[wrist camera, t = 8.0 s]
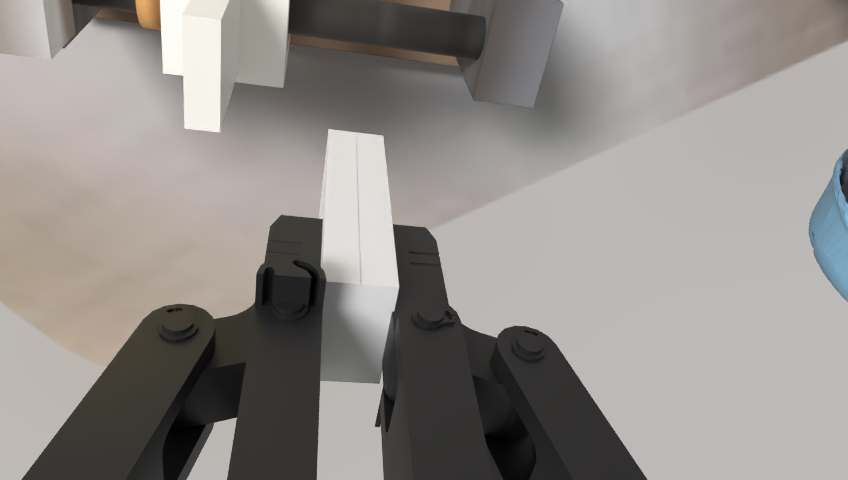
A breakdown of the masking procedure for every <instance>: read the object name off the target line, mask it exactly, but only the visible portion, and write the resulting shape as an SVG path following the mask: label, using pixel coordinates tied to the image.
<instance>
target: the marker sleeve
mask: <svg viewBox="0 0 848 480" xmlns="http://www.w3.org/2000/svg"><path fill="white" fill-rule="evenodd" d="M289 7H290V0H160V14H161V38H162V61H163V73H165V74H173V75H181V76H183V85H184V125H185V129H194V130H203V131H212V132H220V131H221V128H222V124H223V121H224V118H225V114H226V111H227V108H228V104H229V101H230V98H231V94H232V91H233V87H234V84H235V82H238V83H246V84H254V85H262V86H270V87H278V88H283V87H284V80H285V73H286V67H287V60H288V53H289V45H290V34H288V23H289Z"/></svg>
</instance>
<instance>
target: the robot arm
mask: <svg viewBox="0 0 848 480" xmlns="http://www.w3.org/2000/svg"><path fill="white" fill-rule="evenodd" d="M809 236H810V241H811V244H812V246H813V248H814V256H815V258H816V260H817V262H818V264H819V266H820V268H821V269H822V271H823V273H824V274H825V275H826V277H827V278H828V280H829V281H830V282H831V284H832V285H833V286H834V287H835V289H836V290H837V291H838V292H839V293H840V294H841V296H842V297H843V298H844V299H845V300H846V301H847V302H848V149H847V150H846V151H845V152H844V153H843V154H842V156H841V157H840V158H839V160H838V161H837V162H836V165H835V167H834V172H833V177H832V178H831V180H830V182H829V184H828V186H827V188H826V189H825V191H824V193H823V194H822V196H821V198H820V200H819V201H818V203H817V205H816V206H815V209H814V210H813V212H812V215H811V218H810V223H809ZM382 370H383V390H382V395H381V400H380V405H379V409H378V414H377V419H376V424H375V427H380V425H381V434H382V452H383V472H384V480H647V478H646V477H645V476H644V474H643V473H642V471H641V470H640V468H639V467H638V465H637V464H636V462H635V461H634V459H633V458H632V456H631V455H630V453H629V452H628V451H627V449H626V447H625V446H624V444H623V443H622V441H621V440H620V438H619V437H618V436H617V434H616V433H615V431H614V430H613V428H612V427H611V425H610V424H609V422H608V421H607V420H606V418H605V416H604V415H603V413H602V412H601V410H600V409H599V407H598V406H597V404H596V403H595V402H594V400H593V399H592V397H591V396H590V394H589V393H588V391H587V390H586V388H585V387H584V386H583V384H582V382H581V381H580V379H579V378H578V376H577V375H576V374H575V372H574V370H573V369H572V367H571V366H570V364H569V363H568V362H567V360H566V359H565V357H564V356H563V354H562V353H561V351H560V350H559V348H558V347H557V345H556V344H555V343H554V342H553V341H552V340H551V339H550V338H549V337H548V336H547V335H545V334H543V333H542V332H540V331H538V330H536V329H532V328H529V327H526V326H513V327H509V328H506V329H504V330H503V331H502V332H501V333H500V334H499V335H498V338H495V337H492V336H489V335H486V334H482V333H479V332H477V331H474V330H472V329H469V328H468V327H466V326H465V325H463V324H461V321H460V318H459V316H458V314H457V312H456V311H454V309H453V308H452V307H450V306H449V304H448V299H447V294H446V289H445V284H444V278H443V273H442V268H441V263H440V258H439V252H438V247H437V242H436V240H435V238H434V237H433V236H432V235H431V234H430V232H429V231H428V230H427V229H426V228H425V227H415V226H404V225H394V224H392V214H391V205H390V195H389V186H388V176H387V167H386V158H385V148H384V139H383V136H382V135H374V134H365V133H357V132H349V131H340V130H332V129H328V138H327V148H326V157H325V166H324V175H323V184H322V193H321V203H320V212H319V219H316V218H306V217H295V216H285V215H281V216H280V217H279V218H278V219H277V220H276V221H275V222H274V223H273V224H272V225H271V226H270V231H269V237H268V244H267V250H266V256H265V262H264V264H262V265H261V266H260V268H259V270H258V272H257V276H256V297H255V303H254V304H253V305H252V306H251V307H250V308H248V309H247V310H246V311H243V312H241V313H239V314H237V315H233V316H229V317H224V318H218V319H213V317H212V316H211V315H210V314H209V313H208V312H207V311H206V310H204V309H202V308H199V307H197V306H194V305H186V304H175V305H168V306H164V307H162V308H159V309H157V310H155V311H152V312H151V313H150V314H149V315H148V316H147V317H146V318H144V319H143V321H142V322H141V323H140V325H139V326H138V327H137V329H136V330H135V331H134V332H133V334H132V335H131V336H130V338H129V339H128V340H127V342H126V343H125V344H124V346H123V347H122V348H121V350H120V351H119V352H118V353H117V355H116V356H115V357H114V359H113V360H112V361H111V363H110V364H109V365H108V367H107V368H106V369H105V371H104V372H103V373H102V375H101V376H100V377H99V378H98V380H97V381H96V382H95V384H94V385H93V386H92V388H91V389H90V390H89V392H88V393H87V394H86V396H85V397H84V398H83V400H82V401H81V402H80V403H79V405H78V406H77V407H76V409H75V410H74V411H73V413H72V414H71V415H70V417H69V418H68V419H67V421H66V422H65V423H64V425H63V426H62V427H61V428H60V430H59V431H58V433H57V434H56V435H55V436H54V438H53V439H52V440H51V442H50V443H49V444H48V446H47V447H46V448H45V449H44V451H43V452H42V454H41V455H40V456H39V458H38V459H37V460H36V461H35V463H34V464H33V465H32V467H31V468H30V469H29V471H28V472H27V473H26V475H25V476H24V477H23V478H22V480H186V479H187V477H188V476H189V473H190V472H191V470H192V468H193V466H194V464H195V462H196V460H197V458H198V456H199V454H200V452H201V450H202V448H203V446H204V444H205V443H206V441H207V439H208V437H209V435H210V433H211V431H212V429H213V425H214V422H218V421H223V420H227V419H231V418H236V417H237V421H236V428H235V434H234V440H233V446H232V453H231V459H230V465H229V471H228V477H227V480H317V451H318V424H319V423H318V422H319V395H320V381H338V382H358V383H378V384H379V383H380V379H381V374H382Z"/></svg>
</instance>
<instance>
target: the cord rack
mask: <svg viewBox="0 0 848 480" xmlns="http://www.w3.org/2000/svg"><path fill="white" fill-rule="evenodd" d="M563 5H564V4H563V3H562V2H561V1H560V0H290V7H289V23H288V34H290V44H296V45H304V46H311V47H318V48H326V49H333V50H340V51H348V52H355V53H362V54H369V55H377V56H384V57H391V58H399V59H406V60H413V61H421V62H428V63H435V64H443V65H450V66H457V67H460V69H461V72H462V74H463V76H464V79H465V81H466V83H467V86H468V88H469V90H470V93H471V95H472V97H473V100H475V101H483V102H491V103H499V104H506V105H514V106H522V107H530V108H533V107H534V104H535V100H536V97H537V93H538V90H539V87H540V83H541V80H542V76H543V73H544V70H545V66H546V63H547V59H548V56H549V52H550V49H551V46H552V42H553V39H554V35H555V32H556V29H557V25H558V22H559V18H560V15H561V12H562V8H563ZM93 17H99V18H106V19H113V20H121V21H128V22H135V23H140V25H141V27H142V28H147V29H154V30H161V14H160V0H0V53H2V54H10V55H18V56H26V57H34V58H42V59H50V60H51V59H52V58H53V57H54V56H55V55H56V54H57V53H58V52H59V51H60V50H61V49H62V48H65V47H66V46H67V45H68V44H69V43H70V42H71V41H72V40H73V39H74V38H75V37H76V36H77V35H78V33H79V32H80V31H81V30H82V29H83V28H84V27H85V26H86V25H87V24H88V23H89V22H90V21H91V20H92V18H93Z"/></svg>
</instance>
